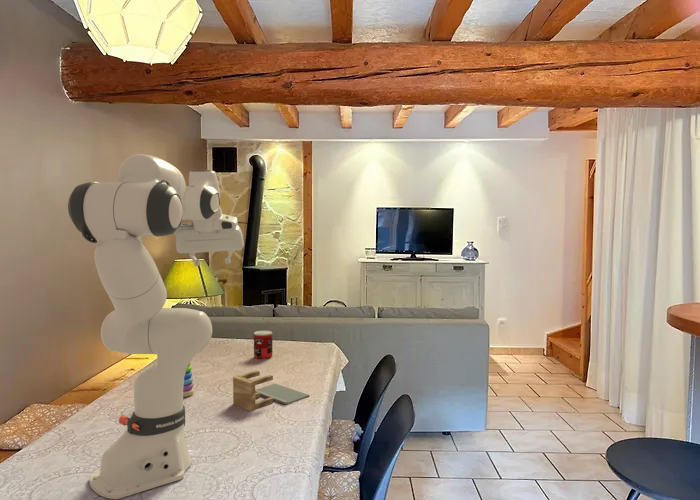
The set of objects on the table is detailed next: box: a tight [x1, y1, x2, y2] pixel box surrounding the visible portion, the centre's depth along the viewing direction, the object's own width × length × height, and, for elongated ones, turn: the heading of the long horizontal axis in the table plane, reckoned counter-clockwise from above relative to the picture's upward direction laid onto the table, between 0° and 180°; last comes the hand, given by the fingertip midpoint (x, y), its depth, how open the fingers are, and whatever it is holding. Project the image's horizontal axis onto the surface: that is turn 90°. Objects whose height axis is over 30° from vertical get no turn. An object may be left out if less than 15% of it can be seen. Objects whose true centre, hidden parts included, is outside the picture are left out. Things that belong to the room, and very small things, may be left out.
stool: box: [232, 370, 274, 412], centre depth 164 cm, size 10×9×9 cm
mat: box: [255, 383, 311, 406], centre depth 173 cm, size 11×18×1 cm, turn 48°
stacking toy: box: [183, 361, 195, 398], centre depth 172 cm, size 8×8×19 cm
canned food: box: [253, 330, 273, 360], centre depth 218 cm, size 8×8×11 cm
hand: (212, 264), depth 157 cm, fingers open, 8 cm apart
